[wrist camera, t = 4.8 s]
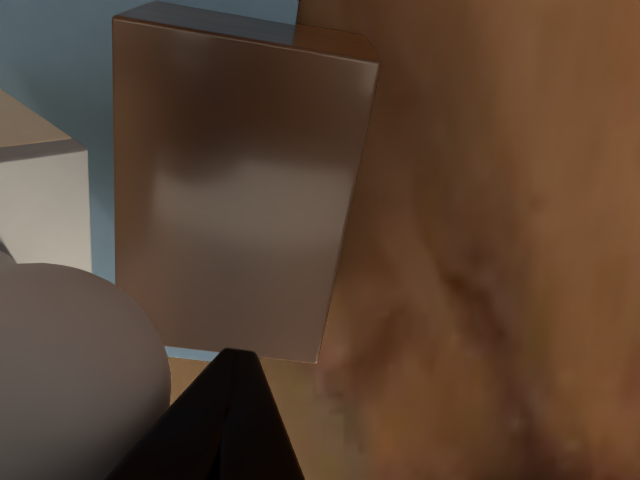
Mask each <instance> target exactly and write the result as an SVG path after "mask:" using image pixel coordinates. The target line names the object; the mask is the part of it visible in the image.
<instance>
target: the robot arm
mask: <svg viewBox="0 0 640 480" xmlns="http://www.w3.org/2000/svg"><path fill="white" fill-rule="evenodd" d="M104 480H305V478H304V476H303V473H302V470H301V468H300V465H299V463H298V460H297V457H296V455H295V452H294V450H293V447H292V444H291V442H290V439H289V437H288V434H287V431H286V429H285V426H284V424H283V421H282V418H281V416H280V413H279V411H278V408H277V405H276V403H275V400H274V398H273V395H272V392H271V390H270V387H269V385H268V382H267V379H266V377H265V374H264V372H263V369H262V366H261V364H260V361H259V359H258V356H257V354H256V352H254V351H251V350H244V349H237V348H229V347H226V348H224V349H222V350H221V351H220V353H219V354H218V355H217V356H216V357H215V358H214V359H213V360H212V361H211V362H210V364H209V365H208V366H207V367H206V368H205V369H204V370H203V371H202V372H201V373H200V374H199V376H198V377H197V378H196V379H195V380H194V381H193V382H192V383H191V384H190V385H189V387H188V388H187V389H186V390H185V391H184V392H183V393H182V394H181V395H180V396H179V397H178V399H177V400H176V401H175V402H174V403H173V404H172V405H171V406H170V407H169V408H168V410H167V411H166V412H165V413H164V414H163V415H162V416H161V417H160V418H159V419H158V420H157V422H156V423H155V424H154V425H153V426H152V427H151V428H150V429H149V430H148V431H147V433H146V434H145V435H144V436H143V437H142V438H141V439H140V440H139V441H138V442H137V443H136V445H135V446H134V447H133V448H132V449H131V450H130V451H129V452H128V453H127V454H126V456H125V457H124V458H123V459H122V460H121V461H120V462H119V463H118V464H117V465H116V466H115V468H114V469H113V470H112V471H111V472H110V473H109V474H108V475H107V476H106V477H105V479H104Z"/></svg>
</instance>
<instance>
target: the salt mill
mask: <svg viewBox="0 0 640 480" xmlns="http://www.w3.org/2000/svg"><path fill="white" fill-rule="evenodd" d="M170 402H171V372H170V367H169V362H168V357H167V353H166V350H165V347H164V344H163V341H162V339H161V337H160V335H159V333H158V331H157V329H156V327H155V326H154V324H153V322H152V321H151V319H150V317H149V316H148V315H147V314H146V312H145V311H144V310H143V308H142V307H141V306H140V305H139V304H138V303H137V302H136V301H135V300H134V299H133V298H132V297H130V296H129V295H128V294H127V293H126V292H124V291H123V290H122V289H120V288H119V287H118V286H116V285H114V284H113V283H111V282H109V281H108V280H106V279H103V278H101V277H99V276H97V275H95V274H92V259H91V232H90V204H89V177H88V151H87V148H86V147H85V146H83V145H82V144H80V143H79V142H77V141H76V140H74V139H72V138H71V137H70V136H69V135H67V134H66V133H64V132H63V131H61V130H60V129H58V128H57V127H56V126H54V125H53V124H51V123H50V122H48V121H47V120H45V119H44V118H42V117H41V116H40V115H38V114H37V113H35V112H34V111H32V110H31V109H29V108H28V107H26V106H25V105H24V104H22V103H21V102H19V101H18V100H16V99H15V98H13V97H12V96H10V95H9V94H7V93H6V92H5V91H3V90H2V89H0V480H104V479H105V477H106V476H107V475H108V474H109V473H110V472H111V471H112V470H113V469H114V468H115V466H116V465H117V464H118V463H119V462H120V461H121V460H122V459H123V458H124V457H125V456H126V454H127V453H128V452H129V451H130V450H131V449H132V448H133V447H134V446H135V445H136V443H137V442H138V441H139V440H140V439H141V438H142V437H143V436H144V435H145V434H146V433H147V431H148V430H149V429H150V428H151V427H152V426H153V425H154V424H155V423H156V422H157V420H158V419H159V418H160V417H161V416H162V415H163V414H164V413H165V412H166V411H167V410H168V408H169V407H170Z"/></svg>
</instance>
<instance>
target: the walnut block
mask: <svg viewBox="0 0 640 480" xmlns="http://www.w3.org/2000/svg"><path fill="white" fill-rule="evenodd" d="M380 68H381V62H380V60H379V58H378V57H377V55H376V53H375V52H374V50H373V48H372V47H371V45H370V43H369V42H368V40H367V38H366V37H365V36H364V35H359V34H353V33H348V32H342V31H336V30H331V29H325V28H319V27H314V26H308V25H302V24H297V23H296V25H291V24H286V23H280V22H274V21H269V20H263V19H257V18H252V17H246V16H240V15H235V14H229V13H223V12H218V11H212V10H206V9H201V8H195V7H189V6H184V5H178V4H172V3H167V2H161V1H152V2H149V3H147V4H144V5H141V6H138V7H136V8H133V9H130V10H127V11H125V12H122V13H119V14H116V15H114V16H113V17H112V85H113V162H114V239H115V285H116V286H118V287H119V288H120V289H122V290H123V291H124V292H126V293H127V294H128V295H129V296H130V297H132V298H133V299H134V300H135V301H136V302H137V303H138V304H139V305H140V306H141V307H142V308H143V310H144V311H145V312H146V314H147V315H148V316H149V317H150V319H151V321H152V322H153V324H154V326H155V327H156V329H157V331H158V333H159V335H160V337H161V339H162V341H163V344H164V346H168V347H176V348H185V349H193V350H202V351H210V352H219V353H220V351H221V350H222V349H224V348H226V347H229V348H237V349H244V350H251V351H254V352H256V354H257V356H258V357H261V358H270V359H278V360H286V361H295V362H303V363H312V364H316V363H317V361H318V358H319V353H320V349H321V344H322V339H323V335H324V330H325V325H326V321H327V316H328V311H329V307H330V302H331V297H332V292H333V288H334V283H335V278H336V274H337V269H338V264H339V260H340V255H341V250H342V246H343V241H344V236H345V232H346V227H347V222H348V218H349V213H350V208H351V204H352V199H353V194H354V190H355V185H356V180H357V176H358V171H359V166H360V162H361V157H362V152H363V148H364V143H365V138H366V134H367V129H368V124H369V120H370V115H371V110H372V106H373V101H374V96H375V92H376V87H377V82H378V78H379V73H380Z"/></svg>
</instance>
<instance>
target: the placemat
mask: <svg viewBox="0 0 640 480" xmlns="http://www.w3.org/2000/svg"><path fill="white" fill-rule="evenodd" d="M152 1H161V2H167V3H172V4H178V5H184V6H189V7H195V8H201V9H206V10H212V11H218V12H223V13H229V14H235V15H240V16H246V17H252V18H257V19H263V20H269V21H274V22H280V23H286V24H291V25H296V19H297V12H298V4H299V0H0V89H2V90H3V91H5V92H6V93H7V94H9V95H10V96H12V97H13V98H15V99H16V100H18V101H19V102H21V103H22V104H24V105H25V106H26V107H28V108H29V109H31V110H32V111H34V112H35V113H37V114H38V115H40V116H41V117H42V118H44V119H45V120H47V121H48V122H50V123H51V124H53V125H54V126H56V127H57V128H58V129H60V130H61V131H63V132H64V133H66V134H67V135H69V136H70V137H71V138H72V139H74V140H76V141H77V142H79V143H80V144H82V145H83V146H85V147H86V148H87V151H88V177H89V204H90V232H91V259H92V274H95V275H97V276H99V277H101V278H103V279H106V280H108V281H109V282H111V283H113V284H114V285H115V239H114V162H113V85H112V17H113V16H114V15H116V14H119V13H122V12H125V11H127V10H130V9H133V8H136V7H138V6H141V5H144V4H147V3H149V2H152ZM164 347H165V350H166V353H167V356H168V357H177V358H185V359H194V360H202V361H212V360H213V359H214V358H215V357H216V356H217V355H218V354H219V352H210V351H202V350H193V349H185V348H176V347H168V346H164Z"/></svg>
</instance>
